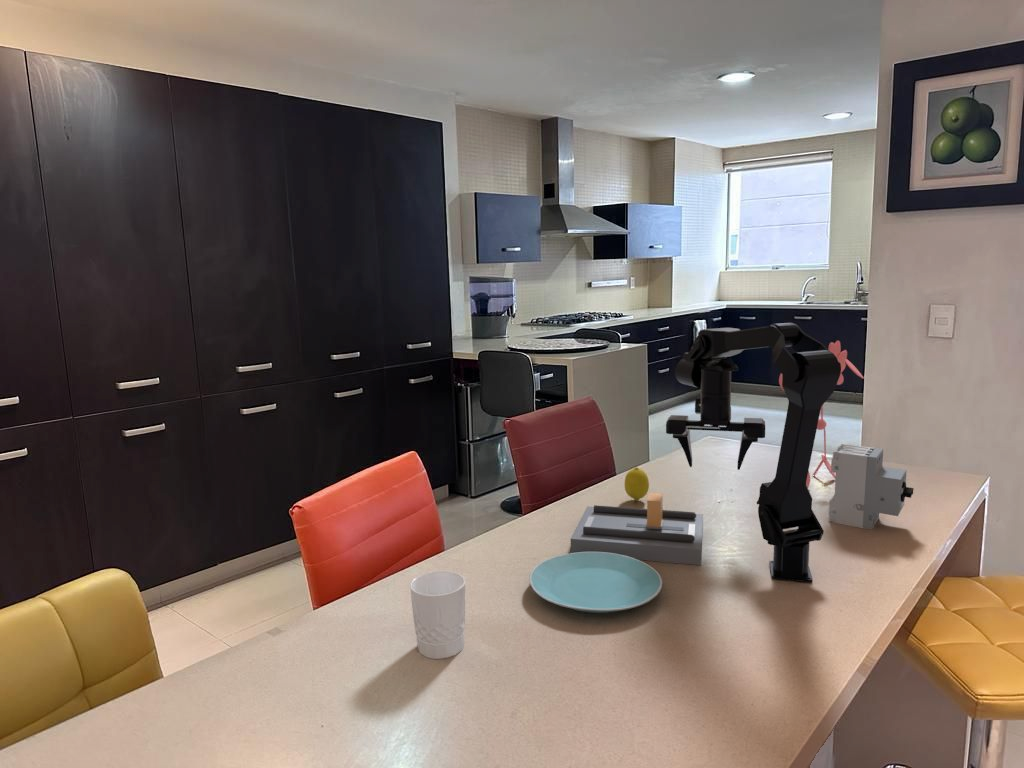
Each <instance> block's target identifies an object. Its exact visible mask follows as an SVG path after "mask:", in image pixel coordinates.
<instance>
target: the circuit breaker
mask: <svg viewBox="0 0 1024 768" xmlns="http://www.w3.org/2000/svg"><path fill="white" fill-rule="evenodd" d="M883 461H884V448H878V447H870V446H861V445H854V444H843V443H841V444H840V445H839V446H838V447H837V448H836V449H835V450H834V451H833V452H832V458H831V461H830V462H831V464H830V465H831V472H834V473H835V475H836V477H835V478H834V480H835V481H834V495H833V496H831V498H830V500H829V501H828V502H829V503H828V504H829V505H828V520H827V521H828V523H831V522H832V523H835V524H839V525H843V526H844V525H845V526H850V527H855V528H860V529H866V530H873V528H874V527H875V525H876V523H877V522H878V520H879V518H880V514H881V515H889V516H893V517H894V516H896V517H898V516H899V515H900V513H901V511H902V509H903V508H904V506H905V499H906V498H908V499H909V498H910V499H912V495H913V494H914V488H913V487H908V486H907V469H904V468H902V469H901V468H895V467H888V466H883V464H884V463H883Z"/></svg>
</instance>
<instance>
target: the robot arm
mask: <svg viewBox="0 0 1024 768" xmlns="http://www.w3.org/2000/svg"><path fill="white" fill-rule="evenodd" d="M697 334H698V335H697V336H696V337H695V340H694V341H693V343H692V345H691V347H690V349H689V351H688V352H684V353H683V355H682V356H683V357H682V359H680V360H679V361H678V363H677V365H676V367H675V369H674V376H675V378H676V381H678V382H679V383H680V384H682V385H686V386H691V387H695V388H699V389H700V397H695V399H694V400H695V401H694V402H695V403H694V413H695V415H696V414H697V415H700V419H699V420H691V419H689V415H683V414H682V415H679V414H676V415H675V414H671V415H670V416H669V417H668V418H667V420H666V423H665V433H666V434H667V435H672V438H673V439H677V440H678V442H679V444H680V446H681V448H682V450H683V452H684V455H685V458H686V461H687V463H688V465H689V467H690V468H692V467H693V454H692V452H693V451H692V445H691V443H692V442H691V430H693V431H714V432H715V431H717V432H735V433H736V432H740V433H741V440H740V445H739V452H738V456H737V466H736V467H737V470H738V471H740V469H741V467H742V464H743V462H744V459H745V456H746V454H747V452H748V450H749V448H750V447H751V445H752V444H753V443H758V441H759V439H764V438H766V421H765V420H764V419H763V418H762V417H744V418H743V422H742V421H740V422H739V421H731V420H732V407H731V405H732V404H731V402H732V401H731V399H732V398H731V397H732V395H731V394H732V372H737V371H739V367H738V366H737V364H736V363H734V362H733V360H732V358H730V357H732V356H736V355H738V354H741V353H742V352H743V351H744V350H752V349H761V348H762V349H763V348H770V351H772V352H771V353H772V361H773V362H772V363H773V365H775V367H776V368H777V370H778V371H779V372H780V374H781V373H782V374H783V377H782V387H783V389H784V391H785V392H784V391H783V392H784V393H785V397H787V400H788V405H787V411H786V415H785V416H786V417H785V423H784V427H783V433H782V436H781V437H782V438H781V445H780V450H779V455H778V460H777V461H778V462H777V465H776V473H775V477H774V478H773V480H771V481H769V482H763V483H762V482H761V484H760V487H759V496H758V500H757V501H756V505H758V507H757V514H758V519H759V524H760V529H761V534H762V535H761V536H762V538H763V540H765V541H766V542H767V544H768V545H770V546H773V554H772V555H773V557H772V558H773V560H769V570H770V574H771V575H770V577H771V578H772V579H774V580H784V581H794V582H795V581H796V582H803V583H805V582H806V583H812V582H813V575H812V573H811V572H812V571H811V569H810V566H809V563H810V562H809V561H810V542H815V541H821V539H822V537H823V535H824V532H825V531H824V529H823V526H822V525H821V522H820V521H819V519H818V518H817V516H816V514H815V513H814V511H813V508H812V507H813V497H812V494H811V493H810V490H809V487H808V488H807V486H806V480H807V475H808V470H809V469H810V464H811V459H812V454H813V451H814V450H813V449H814V444H815V439H816V436H817V435H816V434H817V430H818V429H817V425H818V420H819V419H820V416H821V407H822V405H823V406H824V404H825V403H826V402H827V400H828V399H829V398H831V395H832V394H833V393H835V390H836V387H837V382H838V379H839V377H840V374H841V364H840V362H838V360H837V357H836V356H835V355H834V354H833V353H832V352H830V351H829V350H828V347H827V346H826V345H825V344H824V343H822V342H821V341H819V340H817V339H816V338H814V337H813V336H810V335H809V334H807V333H806V332H804V331H803V330H802V328H801V327H800V326H799V325H797V324H796V323H794V322H784V323H772V324H770V325H767V326H759V327H752V328H746V329H740V328H734V327H720V328H718V327H717V328H704V329H703V328H702V329H700V330H699V331H698V332H697ZM788 347H791V348H792V350H794V351H796V352H794V353H791V352H790V351H789V350H788V349H787V348H788ZM728 357H729V358H728ZM809 471H810V470H809ZM793 528H794V529H793ZM787 529H788V530H787Z"/></svg>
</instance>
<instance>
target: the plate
mask: <svg viewBox="0 0 1024 768" xmlns="http://www.w3.org/2000/svg"><path fill="white" fill-rule="evenodd" d="M529 585H530V587H531V589H532V590H533V591H534V592H535V594H537V595H538V596H539V597H540V598H542V599H543V600H544V601H546V602H549V603H551V604H553V605H556V606H559V607H563V608H567V609H569V608H570V610H572V609H573V611H577V612H582V613H591V614H608V613H609V612H610V613H615V612H619V611H620V612H621V611H625V610H626V611H627V610H630V609H634V608H638V607H640V606H642V605H645V604H647V603H648V602H650V601H652V600H653V599H654V598H656V597H657V596H658V595H659V593H660V592H661V590H662V587H663V579H662V576H661V575H660V573H659V572H658V571H657V570H656V569H655V568H654V567H652V566H651V565H650V564H647V563H645V562H644V561H643V560H637V559H634V558H631V557H628V556H624V555H620V554H614V553H607V552H577V553H571V552H570V553H565V554H560V555H557V556H553V557H550V558H547V559H545V560H543V561H541V562H540V563H538V564H537V565H536V566H534V568H533V569H532V570H531V572H530V574H529Z"/></svg>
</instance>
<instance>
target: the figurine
mask: <svg viewBox="0 0 1024 768" xmlns="http://www.w3.org/2000/svg"><path fill="white" fill-rule="evenodd" d="M841 348H842V347H841V341H840V340H836V341H835V342H830V343H829V345H828V347H827V349H828V350H829V351H830V352H832V353H833V354H834V355H835V356H836V357H837V360H838V362H840V364H841V374H840V377H839V379H838V382H837V385H838V386H841V385H842V384H844V380H845V379H844V375H843V371H844V370H845V369H846V366H848V367H849V369H850V370H851V371H852V372H853V373H854V374H855V375H856V376H857V377H860V379H865V377H864V376H863V375H862V373H861V372H860V371H859V369H858V368H857V367H856V366H855V365H854V364H853V363H852V362H851V361H850V360H848V351H847V349H844V350H843V351H841V350H842V349H841ZM779 374H780V375H779V378H778V384H779V386H780V388H781V390H782V391H783V392H784V393H785V391H784V389H783V387H782V377H783V374H782V373H781V372H780V373H779ZM837 385H836V386H837ZM823 406H824V404H823V405H822V407H821V410H820V418H819V420H818V425H817V430H818V431H822V430H823V445H824V446H823V449H824V451H823V452H824V454H821V455H820V456H821V460H820V462H819V464H818V466H817V467H816V469H815V470H814V472H813V473H812V476H813V475H814V476H813V477H816V474H817V473H818V472H819V470H820V468H821V466H822V465H823V463H824V465H825V467H826V469H827V470H828V472H829V473H830V475H831V476H832V477H833V478H834V479H835V477H836V473H834V472H831V464H830V462H829V460H828V458H827V448H826V447H827V443H826V441H827V439H826V436H827V434H826V433H827V432H826V427H827V421H826V420H825V419H824V411H823V410H824V407H823ZM810 483H811V473H810V470H808V475H807V480H806V486H807V488H808V489H809V486H810Z"/></svg>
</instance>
